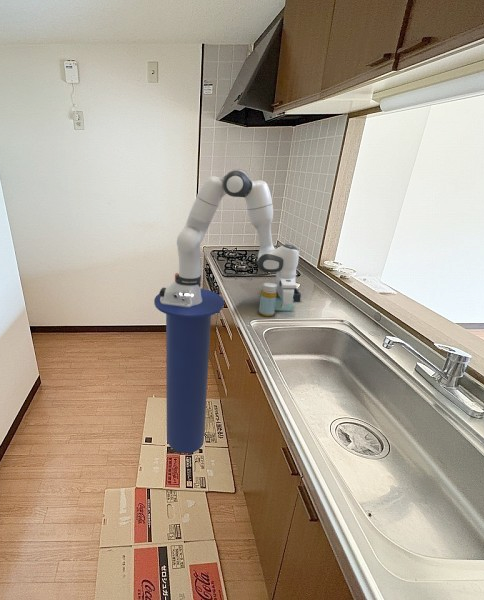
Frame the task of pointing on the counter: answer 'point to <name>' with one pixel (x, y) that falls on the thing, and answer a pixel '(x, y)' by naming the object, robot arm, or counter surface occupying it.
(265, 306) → the bottle
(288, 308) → the case
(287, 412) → the counter surface
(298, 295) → the tote
